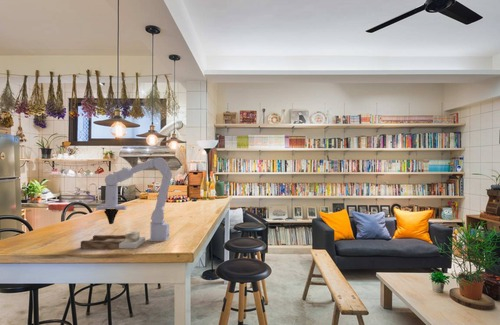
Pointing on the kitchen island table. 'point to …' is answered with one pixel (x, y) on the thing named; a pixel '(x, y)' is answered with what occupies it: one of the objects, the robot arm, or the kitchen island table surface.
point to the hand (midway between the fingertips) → (111, 223)
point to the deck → (111, 242)
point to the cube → (132, 236)
